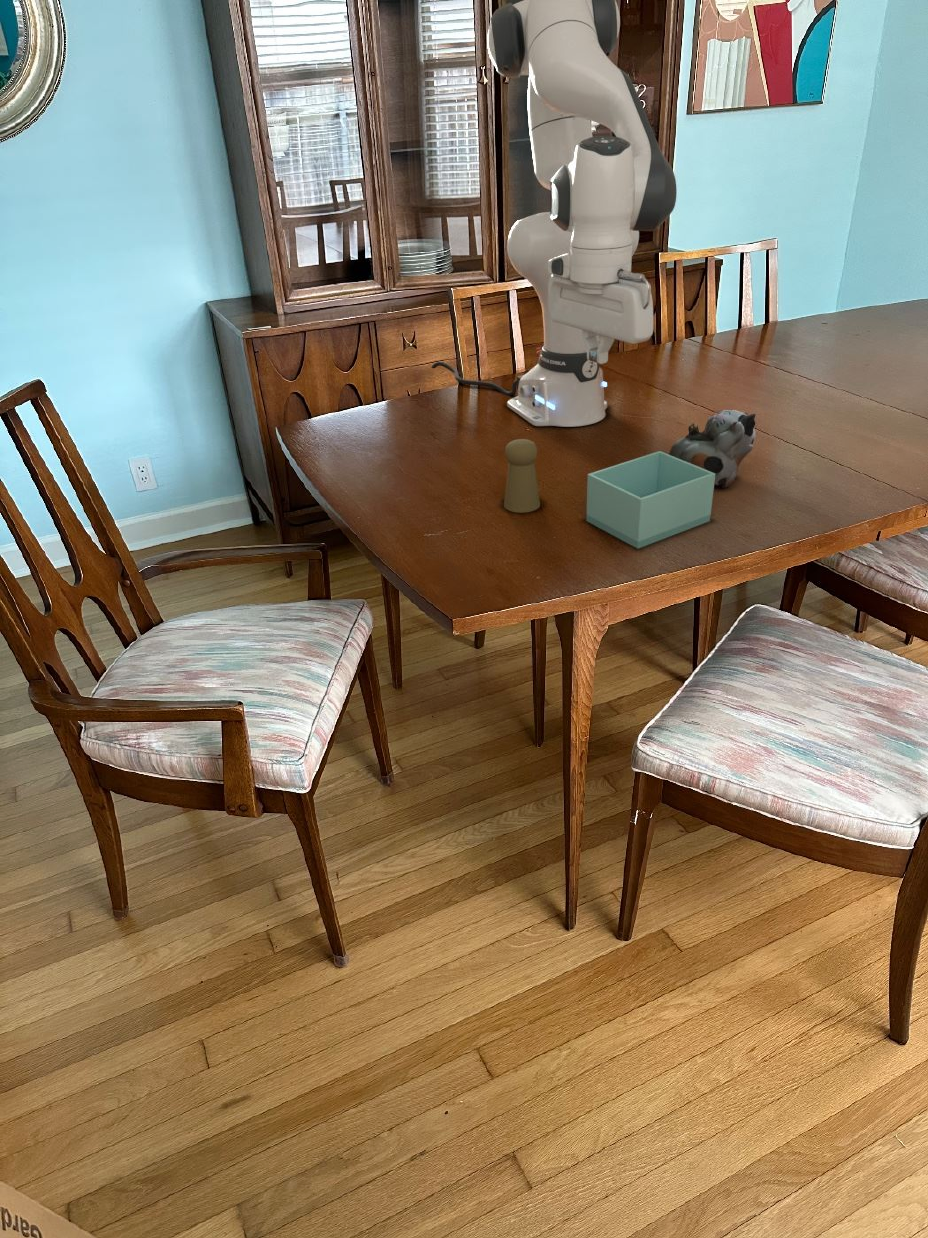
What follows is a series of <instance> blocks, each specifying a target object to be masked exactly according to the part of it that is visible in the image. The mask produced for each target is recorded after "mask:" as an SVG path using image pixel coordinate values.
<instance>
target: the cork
mask: <svg viewBox="0 0 928 1238" xmlns="http://www.w3.org/2000/svg"><path fill="white" fill-rule="evenodd" d="M504 456H505V459H506V461H507V462H508V465H507V473H506V484H505V492H504V493H505V494H504V502H503V507H504V509H505V510H507V511H509V512H513V513H517V514H518V513H531V512H534V511H536V510H538V509H539V508H540V507H541V501H540V496H539V494H540V493H539V487H538V480H537V473H536V465H535V461H536V460H537V458H538V446H537V445H536V443H535V442H534V441H532V440H530V439H527V438H518V439H513V440H511V441H509V442H508V443H507V444H506V446H505V450H504Z"/></svg>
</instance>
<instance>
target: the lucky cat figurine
mask: <svg viewBox="0 0 928 1238" xmlns="http://www.w3.org/2000/svg"><path fill="white" fill-rule="evenodd" d="M755 418H756V413H751V414H748V412H744V411H740V410H736V409H723V410H722V411H720V412H718V413H716V414H714V415H712V416H710V417H709V418H708V419H707V421H706V423H705V426H704V430H702V431H701V432H700V429H699V426H698V424H696V423H695V422H692V423H691V424H690V425H689V426H688V429H687V430H688V434H686V436H685V437H684V438H683V437H682V438H679V439H678V440H676V441H675V442H674V443H673V445H672V446H671V448H670V451H669V453H668V455H671V456H673V457H676V458H678V459H681V460H683V461H686V462H688V463H691V464H693V465H695V466H698V467H700V468H703V469H705V470H708V471H710V472H713V473H715V482H714V486H717V487H718V486H719V487H720V488H722V489H727V488H728V487H730V486H731V485H733V482H734V481H735V479H736V477H737V476H738V475H737V474H738V468H739V466H740V464H741V462H742V461H743V460H744V459H745V457H747V456H748V455H749V453H750V452H751V451H753V450H754V446H755V445H754V441H755V440H756V434H757V431H756V429H755V426H756V420H755Z"/></svg>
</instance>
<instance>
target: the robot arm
mask: <svg viewBox="0 0 928 1238" xmlns="http://www.w3.org/2000/svg"><path fill="white" fill-rule="evenodd" d="M489 21H490V22H489V26H488V29H487V37H486V38H487V49H488V54H489V58H490V60H491V62H492V64H493V66H494V67H495V69H496V72H497V73H498V74H499V75H500V76H502V77H503V78H507V79H509V78H510V79H519V78H520V77H521V76H528V83H527V84H528V85H527V87H528V88H527V116H528V119H527V120H528V128H529V138H530V145H531V152H532V153H531V154H532V160H533V162H532V163H533V169H534V175H535V177H536V179H537V181H538V183H539V184H540V185H541V186H542V187H543V188H545V189H546V190H548V191H549V192H550V205H549V206H550V207H549V211H544V212H537V213H534V214H532V215H529V216H527V217H523V218H521V219H519V220H517V221H515V222H514V224H513V225H512V227H511V229H510V231H509V234H508V237H507V242H506V249H507V257H508V259H509V262H510V264H511V266H512V267H513V269H514V270H515V271H516V273H518V275H520V276H521V277H523V278H524V279H525V280H527V282H528V283H530V285H531V286H532V287H533V289H534V290H535V292H536V294H537V296H538V299H539V302H540V305H541V306H540V307H541V310H542V323H543V324H542V325H543V345H542V346H539V347H536V348H535V350H536V351H535V354H539V358H538V362H537V364H536V365H535V366H533V367H532V368H530V370H529V371H528V372H526V373H525V374H522V375H519V376H516V379H515V380H514V381H513V382H512V384H511V385H512V387H511V390H506V389H505V388H503V387H501V386H500V385H498V384H496V383H493V382H491V381H490V382H489V381H483V380H473V379H472V380H471V379H465V378H462V377H460V372H459V370H458V369H457V368H455V367H453V366H451V365H449V364H448V363H446V362H443V361H436V362H434V363H433V364H432V365H431V369H436V368H437V367H443V368H445V369H447V370H449V372H452V373H453V374H454V379H455V380H456V382H457V383H460V384H464V385H468V386H478V387H487V388H492V389H495V390H496V391H498V392H500V393H502V394H505V395H507V396H511V397H512V396H514V395H516V394H517V396H515V397H512V398H510V399H508V401H507V402H506V407H507V408H508V409H510V410H511V411H513V412H514V413H515V414H518V416H520V417H521V418H522V419H524V420H526V421H527V422H528V423H529V424H531V425H532V426H535V427H554V426H555V427H562V428H563V427H564V428H565V427H566V428H569V427H570V428H571V427H583V426H588V425H589V426H590V425H592V424H596V423H598V422H600V421H602V420H604V419H605V417H606V415H607V414H606V409H607V408H608V402H607V400H605V389H604V388H606V387H608V382H606V381H604V372H603V369H602V368H601V366H602V365H603V364H606V363H607V362H608V361H609V351H610V349H611V348H612V347H613V345H614V342H615V340H617V341H621V342H624V343H627V344H631V345H634V344H635V345H636V344H640V343H644V342H647V341H649V340H650V339H651V337H652V336H653V333H654V303H653V295H652V286H651V283H649V281H648V279H647V278H646V276H645V274H643V273H640V272H632V259H633V256H634V254H635V252H636V250H637V248H638V245H639V240H640V232H654V231H655V230H656V229H658V228H660V226H661V225H662V224H664V222H665V221H666V220H667V219H668V218H669V217H670V215H671V214H672V213H673V212H674V209H675V207H676V202H677V189H678V188H677V179H676V175H675V172H674V170H673V168H672V165H671V164H670V162H669V161H668V159H667V158H666V157H665V155H664V153H663V152H662V150H661V148H660V145H659V144H658V141H657V139H656V136H655V134H654V131H653V128H652V126H651V124H650V121H649V119H648V117H647V114H646V111H645V108H644V106H643V104H642V102H641V99H640V96H639V94H638V92H637V90H636V87H635V85H634V83H633V81H632V79H631V77H630V76H629V74H628V73H627V72H625V71H624V70H623V69H621V68H619V67H618V66H617V65H615V64H614V63H613V61H611V59H610V58H609V57H610V55H611V54H612V52H613V50H614V49H615V47H616V46H617V41H618V37H619V33H620V27H621V16H620V10H619V6H618V3H617V1H616V0H520V1H519V2H516V3H514V4H513V3H512V2H509V3H506V4H505V5H502V6H501V7H499V8H497V9H496V10H495V11H494V12H493V14H492V15H491V17H490V19H489ZM592 122H594V123H596V124H600V125H601V126H604V127H606V128H607V129H609V130H610V131H611V132H612V133H613V134H614V135H615V136H612V135H597V136H594V135H593V129H592Z"/></svg>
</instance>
